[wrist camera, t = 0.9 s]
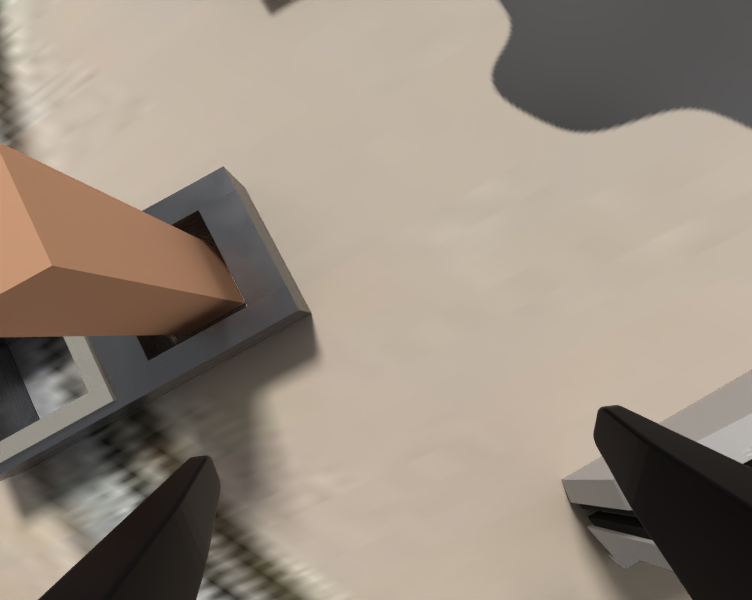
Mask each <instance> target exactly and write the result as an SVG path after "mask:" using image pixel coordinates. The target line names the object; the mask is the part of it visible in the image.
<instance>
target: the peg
mask: <svg viewBox="0 0 752 600" xmlns="http://www.w3.org/2000/svg"><path fill="white" fill-rule="evenodd" d="M243 304H245V302H244V300H243V298H242V296H241V294H240V292H239V290H238V288H237V286H236V284H235V282H234V280H233V278H232V276H231V274H230V272H229V271H228V269H227V267H226V265H225V263H224V261H223V259H222V257H221V255H220V253H219V251H218V249H217V247H215V246H213V245H211V244H209V243H207V242H205V241H203V240H201V239H199V238H196V237H194V236H192V235H190V234H188V233H186V232H184V231H182V230H180V229H178V228H176V227H174V226H172V225H170V224H167V223H165V222H163V221H161V220H159V219H157V218H155V217H153V216H151V215H149V214H147V213H145V212H143V211H140V210H138V209H136V208H134V207H132V206H130V205H128V204H126V203H124V202H122V201H120V200H118V199H116V198H113V197H111V196H109V195H107V194H105V193H103V192H101V191H99V190H97V189H95V188H93V187H91V186H89V185H86V184H84V183H82V182H80V181H78V180H76V179H74V178H72V177H70V176H68V175H66V174H64V173H62V172H59V171H57V170H55V169H53V168H51V167H49V166H47V165H45V164H43V163H41V162H39V161H37V160H35V159H32V158H30V157H28V156H26V155H24V154H22V153H20V152H18V151H16V150H14V149H12V148H10V147H8V146H5V145H3V144H1V143H0V337H62V336H133V335H188V334H190V333H192V332H194V331H196V330H197V329H199V328H201V327H203V326H205V325H207V324H208V323H210V322H212V321H214V320H216V319H217V318H219V317H221V316H223V315H225V314H227V313H228V312H230V311H232V310H234V309H236V308H237V307H239V306H241V305H243Z"/></svg>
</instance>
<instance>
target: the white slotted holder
mask: <svg viewBox="0 0 752 600" xmlns="http://www.w3.org/2000/svg"><path fill="white" fill-rule="evenodd" d="M659 424H660V425H662V426H664V427H666V428H668V429H670V430H672V431H675V432H677V433H679V434H681V435H683V436H685V437H687V438H689V439H691V440H694V441H696V442H698V443H700V444H702V445H704V446H706V447H708V448H710V449H713V450H715V451H717V452H719V453H721V454H723V455H725V456H727V457H729V458H732V459H734V460H736V461H738V462H740V463H742V464H744V465H746V466H748V467H751V468H752V370H750V371H748V372H747V373H745V374H743V375H742V376H740V377H738V378H736V379H735V380H733V381H731V382H729V383H728V384H726V385H724V386H723V387H721V388H719V389H717V390H716V391H714V392H712V393H710V394H709V395H707V396H705V397H704V398H702V399H700V400H698V401H697V402H695V403H693V404H691V405H690V406H688V407H686V408H685V409H683V410H681V411H679V412H678V413H676V414H674V415H672V416H671V417H669V418H667V419H665V420H664V421H662V422H660V423H659ZM562 483H563V486H564V489H565V491H566V493H567V495H568V498H569V500H570V502H571V503H577V504H579V505H580V506H581V507H582V508H583V509H589V510H596V511H597V512H596V513H594V514H592V515H590V516H589V517H588V518H589V519H590V521H591V522H592V524H591V525H590V526H588V527H587V528H588V529H589V530H590V531H591V532H592V533H593V534H594V536H595V537H596V538H597V539H598V540H599V541H600V542H601V543H602V545H603V546H604V547H605V548H606V549H607V550H608V551H609V552H607V554H608V556H609V557H610V558H611V559H612V560H613V561H614V562H615V563H617V564H618V565H620V566H621V567H622V568H624V569H627V568H628V567H630V566H632V565H634V564H635V563H637V562H639V561H640V560H642V561H644V562H647V563H650V564H653V565H656V566H659V567H662V568H664V569H667V570H670V571H673V570H672V568H671V567H670V565H669V564H668V562H667V561H666V559H665V558H664V557H663V555H662V554H661V552H660V551H659V549H658V548H657V546H656V545H655V543H654V542H653V540H652V539H651V537H650V536H649V534H648V533H647V531H646V530H645V528H644V527H643V525H642V524H641V522H640V521H639V519H638V518H637V516H636V515H635V513H634V512H633V510H632V509H631V507H630V505H629V504H628V502H627V500H626V498H625V497H624V495H623V493H622V491H621V489H620V488H619V486H618V484H617V482H616V480H615V478H614V477H613V475H612V473H611V471H610V469H609V468H608V466H607V464H606V462H605V460H604V458H603V457H600V458H598V459H596V460H595V461H593V462H591V463H589V464H588V465H586V466H584V467H583V468H581V469H579V470H577V471H576V472H574V473H572V474H570V475H569V476H567V477H565V478H564V479H562ZM673 572H674V571H673Z"/></svg>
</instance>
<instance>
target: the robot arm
mask: <svg viewBox="0 0 752 600" xmlns="http://www.w3.org/2000/svg"><path fill="white" fill-rule="evenodd" d="M594 441H595V443H596V446H597V447H598V449H599V451H600V453H601V455H602V457H603V458H604V460H605V462H606V464H607V466H608V468H609V469H610V471H611V473H612V475H613V477H614V478H615V480H616V482H617V484H618V486H619V488H620V489H621V491H622V493H623V495H624V497H625V498H626V500H627V502H628V504H629V505H630V507H631V509H632V510H633V512H634V513H635V515H636V516H637V518H638V519H639V521H640V522H641V524H642V525H643V527H644V528H645V530H646V531H647V533H648V534H649V536H650V537H651V539H652V540H653V542H654V543H655V545H656V546H657V548H658V549H659V551H660V552H661V554H662V555H663V557H664V558H665V559H666V561H667V562H668V564H669V565H670V567H671V568H672V570H673V571H674V573H675V574H676V576H677V577H678V579H679V580H680V582H681V583H682V585H683V586H684V588H685V589H686V591H687V592H688V594H689V595H690V597H691V598H692V600H752V468H751V467H748V466H746V465H744V464H742V463H740V462H738V461H736V460H734V459H732V458H729V457H727V456H725V455H723V454H721V453H719V452H717V451H715V450H713V449H710V448H708V447H706V446H704V445H702V444H700V443H698V442H696V441H694V440H691V439H689V438H687V437H685V436H683V435H681V434H679V433H677V432H675V431H672V430H670V429H668V428H666V427H664V426H662V425H660V424H658V423H655V422H653V421H651V420H649V419H647V418H645V417H643V416H641V415H639V414H636V413H634V412H632V411H630V410H628V409H626V408H624V407H622V406H619V405H613V406H604V407H601V408H600V409H599V410H598V413H597V418H596V423H595V428H594ZM219 495H220V480H219V477H218V474H217V471H216V468H215V466H214V463H213V460H212V458H211V457H210V456H198V457H192V458H190V459H188V460H187V461H186V462H185V463H184V464H183V465H182V466H181V467H180V468H179V469H178V470H176V471H175V472H174V473H173V474H172V475H171V476H170V477H169V478H168V479H167V480H166V481H165V482H164V483H163V484H161V485H160V486H159V487H158V488H157V489H156V490H155V491H154V492H153V493H152V494H151V495H150V496H149V497H148V498H146V499H145V500H144V501H143V502H142V503H141V504H140V505H139V506H138V507H137V508H136V509H135V510H134V511H133V512H131V513H130V514H129V515H128V516H127V517H126V518H125V519H124V520H123V521H122V522H121V523H120V524H119V525H118V526H116V527H115V528H114V529H113V530H112V531H111V532H110V533H109V534H108V535H107V536H106V537H105V538H104V539H103V540H101V541H100V542H99V543H98V544H97V545H96V546H95V547H94V548H93V549H92V550H91V551H90V552H89V553H88V554H86V555H85V556H84V557H83V558H82V559H81V560H80V561H79V562H78V563H77V564H76V565H75V566H74V567H73V568H71V569H70V570H69V571H68V572H67V573H66V574H65V575H64V576H63V577H62V578H61V579H60V580H59V581H58V582H56V583H55V584H54V585H53V586H52V587H51V588H50V589H49V590H48V591H47V592H46V593H45V594H44V595H43V596H41V597H40V598H39V599H38V600H196V598H197V595H198V591H199V588H200V584H201V581H202V578H203V574H204V570H205V567H206V562H207V558H208V553H209V548H210V543H211V537H212V532H213V527H214V522H215V516H216V511H217V506H218V501H219Z"/></svg>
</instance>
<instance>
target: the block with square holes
mask: <svg viewBox="0 0 752 600" xmlns="http://www.w3.org/2000/svg"><path fill="white" fill-rule="evenodd" d="M143 212H145V213H147V214H149V215H151V216H153V217H155V218H157V219H159V220H161V221H163V222H165V223H167V224H170V225H172V226H174V227H176V228H178V229H180V230H182V231H184V232H186V233H188V234H190V235H192V236H194V237H196V238H199V239H200V238H202V237H203V236H205V235H207V234H209V233H211V235H212V237H213V239H214V241H215V243H216V245H217V247H218V249H219V251H220V253H221V255H222V257H223V259H224V261H225V263H226V265H227V267H228V268H229V270H230V272H231V274H232V276H233V278H234V280H235V282H236V284H237V286H238V288H239V290H240V292H241V294H242V296H243V298H244V300H245V302H246V304H247V307H245V308H243V309H242V310H240V311H238V312H236V313H234V314H232V315H231V316H229V317H227V318H225V319H223V320H222V321H220V322H218V323H216V324H214V325H213V326H211V327H209V328H207V329H205V330H203V331H202V332H200V333H198V334H196V335H194V336H193V337H191V338H189V339H187V340H185V341H183V342H182V343H180V344H178V345H176V346H175V345H174V343H173V341H172V339H171V337H170V335H133V336H63V337H64V339H65V342H66V344H67V346H68V348H69V350H70V353H71V355H72V357H73V359H74V361H75V364H76V366H77V368H78V370H79V372H80V375H81V377H82V379H83V381H84V383H85V386H86V388H87V390H88V392H89V393H87V394H85V395H83V396H82V397H80V398H78V399H76V400H74V401H73V402H71V403H69V404H67V405H65V406H63V407H62V408H60V409H58V410H56V411H54V412H53V413H51V414H49V415H47V416H45V417H44V418H42V419H40V420H39V418H38V415H37V413H36V411H35V409H34V406H33V404H32V402H31V399H30V397H29V395H28V393H27V390H26V388H25V386H24V383H23V381H22V379H21V377H20V374H19V372H18V370H17V367H16V365H15V363H14V361H13V358H12V356H11V354H10V351H9V349H8V347H7V344H9V343H11V342H12V341H14V340H16V339H18V338H20V337H0V481H1V480H3V479H6V478H9V477H11V476H14V475H17V474H19V473H22V472H23V471H25V470H27V469H29V468H31V467H32V466H34V465H36V464H38V463H40V462H42V461H43V460H45V459H47V458H49V457H51V456H52V455H54V454H56V453H58V452H60V451H62V450H63V449H65V448H67V447H69V446H71V445H72V444H74V443H76V442H78V441H80V440H81V439H83V438H85V437H87V436H89V435H91V434H92V433H94V432H96V431H98V430H100V429H101V428H103V427H105V426H107V425H109V424H110V423H112V422H114V421H116V420H118V419H120V418H121V417H123V416H125V415H127V414H129V413H130V412H132V411H134V410H136V409H138V408H140V407H141V406H143V405H145V404H147V403H149V402H150V401H152V400H154V399H156V398H158V397H159V396H161V395H163V394H165V393H167V392H169V391H170V390H172V389H174V388H176V387H178V386H179V385H181V384H183V383H185V382H187V381H188V380H190V379H192V378H194V377H196V376H198V375H199V374H201V373H203V372H205V371H207V370H208V369H210V368H212V367H214V366H216V365H218V364H219V363H221V362H223V361H225V360H227V359H228V358H230V357H232V356H234V355H236V354H237V353H239V352H241V351H243V350H245V349H247V348H248V347H250V346H252V345H254V344H256V343H257V342H259V341H261V340H263V339H265V338H266V337H268V336H270V335H272V334H274V333H276V332H277V331H279V330H281V329H283V328H285V327H286V326H288V325H290V324H292V323H294V322H296V321H297V320H299V319H301V318H303V317H305V316H306V315H308V314H310V313H311V311H310V309H309V308H308V306H307V304H306V302H305V300H304V298H303V296H302V294H301V292H300V291H299V289H298V287H297V285H296V283H295V281H294V279H293V277H292V276H291V274H290V272H289V270H288V268H287V266H286V264H285V262H284V260H283V259H282V257H281V255H280V253H279V251H278V249H277V247H276V245H275V243H274V242H273V240H272V238H271V236H270V234H269V232H268V230H267V228H266V227H265V225H264V223H263V221H262V219H261V217H260V215H259V213H258V211H257V210H256V208H255V206H254V204H253V202H252V200H251V198H250V196H249V194H248V193H247V191H246V189H245V187H244V186H243V185H242V184H241V183H240V182H239V181H238V180H237V179H236V178H235V177H234V176H232V175H231V174H230V173H229V172H228V171H227V170H226V169H225V168H224V167H222V168H220V169H218V170H216V171H214V172H212V173H211V174H209V175H207V176H205V177H203V178H201V179H200V180H198V181H196V182H194V183H192V184H191V185H189V186H187V187H185V188H183V189H181V190H180V191H178V192H176V193H174V194H172V195H171V196H169V197H167V198H165V199H163V200H161V201H160V202H158V203H156V204H154V205H152V206H150V207H149V208H147V209H145V210H143Z"/></svg>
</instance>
